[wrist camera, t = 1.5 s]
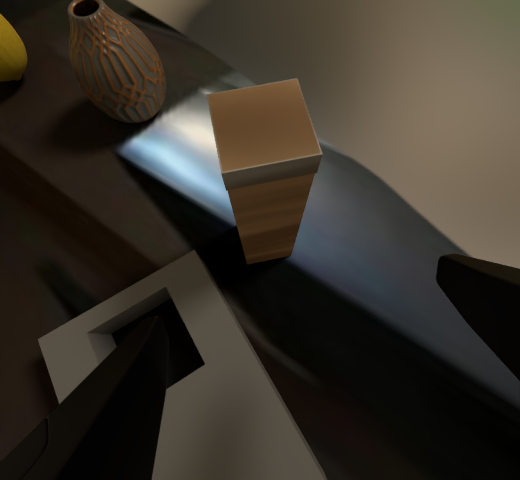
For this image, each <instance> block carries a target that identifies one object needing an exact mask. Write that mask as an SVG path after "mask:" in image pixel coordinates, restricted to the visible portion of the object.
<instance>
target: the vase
mask: <svg viewBox="0 0 520 480" xmlns="http://www.w3.org/2000/svg"><path fill="white" fill-rule="evenodd" d="M68 15H69V20H70V38H69V58H70V63H71V66H72V70H73V72H74V75H75V77H76V79H77V82H78V83H79V85H80V87H81V88H82V90H83V91H84V93H85V94H86V95H87V97H88V98H89V99H90V100H91V101H92V103H93V104H94V105H95V106H96V107H97V108H99V109H100V110H101V111H102V112H104V113H105V114H107V115H108V116H110V117H112V118H114V119H116V120H119V121H122V122H127V123H139V122H143V121H146V120H148V119H150V118H152V117H153V116H154V115H155V114H156V113H157V112H158V111H159V110H160V108H161V107H162V105H163V102H164V100H165V96H166V78H165V73H164V69H163V66H162V63H161V61H160V58H159V56H158V54H157V52H156V50H155V48H154V47H153V45H152V44H151V42H150V41H149V40H148V38H147V37H146V36H145V35H144V34H143V33H142V32H141V31H140V30H139V29H138V28H137V27H136V26H135V25H134V24H132V23H131V22H129V21H128V20H126V19H125V18H123V17H121V16H120V15H118V14H116V13H115V12H113V11H112V10H111V9H110V8H109V7H108V6H107V5H106V4H105V3H104V2H103V1H102V0H74V1H73V2H72V3H71V4H70V5H69V7H68Z"/></svg>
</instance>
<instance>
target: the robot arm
mask: <svg viewBox="0 0 520 480" xmlns="http://www.w3.org/2000/svg"><path fill="white" fill-rule="evenodd" d="M436 280H437V283H438V285H439V286H440V288H441V289H442V290H443V292H444V293H445V294H446V296H447V297H448V298H449V300H450V301H451V302H452V304H453V305H454V306H455V308H456V309H457V310H458V312H459V313H460V314H461V316H462V317H463V318H464V319H465V321H466V322H467V323H468V324H469V326H470V327H471V328H472V329H473V330H474V331H475V332H476V333H477V335H478V336H479V337H480V338H481V339H482V340H483V341H484V342H485V343H486V344H487V345H488V347H489V348H490V349H491V350H492V351H493V352H494V353H495V354H496V355H497V356H498V358H499V359H500V360H501V361H502V362H503V363H504V364H505V365H506V366H507V367H508V369H509V370H510V371H511V372H512V373H513V374H514V375H515V376H516V377H517V378H518V379H519V381H520V269H518V268H514V267H510V266H506V265H502V264H497V263H493V262H489V261H485V260H480V259H476V258H472V257H468V256H464V255H459V254H455V253H452V254H447V255H443V256H441V257H440V258H439V260H438V267H437V274H436ZM168 351H169V338H168V335H167V332H166V330H165V327H164V325H163V322H162V320H161V318H160V317H159V316H154V317H149V318H145V319H144V320H143V321H142V322H141V323H140V324H139V325H138V326H137V327H136V328H135V329H134V330H133V331H132V332H131V333H130V334H129V335H128V336H127V337H126V338H125V339H124V340H123V341H122V342H121V343H120V344H119V345H118V346H117V347H116V348H115V349H114V350H113V351H112V352H111V353H110V354H109V355H108V356H107V357H106V358H105V359H104V360H103V361H102V362H101V363H100V364H99V365H98V366H97V367H96V368H95V369H94V370H93V371H92V372H91V373H90V374H89V375H88V376H87V377H86V378H85V379H84V380H83V381H82V382H81V383H80V384H79V385H78V386H77V387H76V388H75V389H74V390H73V391H72V392H71V393H70V394H69V395H68V396H67V397H66V398H65V399H64V400H63V401H62V402H61V403H60V404H59V405H58V406H57V407H56V408H55V409H54V410H53V411H52V412H51V413H50V414H49V415H48V416H47V419H44V420H43V421H42V422H41V423H40V424H39V425H38V426H37V427H36V428H35V429H34V430H33V431H32V432H31V433H30V434H29V435H28V436H27V437H26V438H25V439H24V440H23V441H22V442H21V443H20V444H19V445H18V446H17V447H15V448H14V449H13V450H12V451H11V452H10V453H9V454H8V455H7V456H6V457H5V458H4V459H3V460H2V461H1V462H0V480H152V475H153V469H154V463H155V457H156V451H157V445H158V439H159V433H160V427H161V421H162V415H163V409H164V403H165V396H166V387H167V370H168Z"/></svg>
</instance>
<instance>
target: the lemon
mask: <svg viewBox="0 0 520 480" xmlns="http://www.w3.org/2000/svg"><path fill="white" fill-rule="evenodd" d="M26 65H27V54H26V50H25V47H24V45H23V43H22V41H21V39H20V37H19V36H18V34H17V33H16V31H15V30H14V29H13V27H12V26H11V25H10V24H9V23H8V21H7V20H6V19H5V18H4V17H3V16H2V15H1V14H0V81H10V80H20V79H21V77H22V73H23V72H24V71H25V68H26Z"/></svg>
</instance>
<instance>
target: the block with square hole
mask: <svg viewBox="0 0 520 480" xmlns="http://www.w3.org/2000/svg"><path fill="white" fill-rule="evenodd" d="M171 298H172V300H173V302H174V304H175V306H176V308H177V309H178V311H179V313H180V315H181V317H182V319H183V321H184V323H185V325H186V327H187V329H188V331H189V333H190V335H191V337H192V339H193V341H194V343H195V345H196V347H197V349H198V351H199V353H200V355H201V357H202V359H203V361H204V363H205V365H203V366H202V367H200V368H199V369H197V370H196V371H194V372H193V373H191V374H190V375H188V376H186V377H185V378H183V379H182V380H180V381H179V382H177V383H176V384H174V385H173V386H171V387H169V388H168V389H166V396H165V403H164V409H163V415H162V421H161V427H160V433H159V439H158V445H157V451H156V457H155V463H154V469H153V475H152V480H327V478H326V476H325V473H324V472H323V470H322V468H321V466H320V465H319V463H318V461H317V459H316V458H315V456H314V454H313V452H312V451H311V449H310V447H309V445H308V444H307V442H306V440H305V438H304V437H303V435H302V433H301V431H300V430H299V428H298V426H297V424H296V422H295V421H294V419H293V417H292V415H291V414H290V412H289V410H288V408H287V407H286V405H285V403H284V401H283V400H282V398H281V396H280V394H279V393H278V391H277V389H276V387H275V386H274V384H273V382H272V380H271V379H270V377H269V375H268V373H267V372H266V370H265V368H264V366H263V365H262V363H261V361H260V359H259V358H258V356H257V354H256V352H255V351H254V349H253V347H252V345H251V344H250V342H249V340H248V338H247V336H246V335H245V333H244V331H243V329H242V328H241V326H240V324H239V322H238V321H237V319H236V317H235V315H234V314H233V312H232V310H231V308H230V307H229V305H228V303H227V301H226V300H225V298H224V296H223V294H222V293H221V291H220V289H219V287H218V286H217V284H216V282H215V280H214V279H213V277H212V275H211V273H210V272H209V270H208V268H207V266H206V265H205V263H204V261H203V260H202V259H201V257H200V256H199V255H198V254H197V252H196V251H195V250H193V251H191V252H189V253H188V254H186V255H184V256H182V257H181V258H179V259H177V260H176V261H174V262H172V263H170V264H169V265H167V266H165V267H163V268H162V269H160V270H158V271H156V272H155V273H153V274H151V275H149V276H148V277H146V278H144V279H142V280H141V281H139V282H137V283H135V284H134V285H132V286H130V287H128V288H127V289H125V290H123V291H121V292H120V293H118V294H116V295H114V296H113V297H111V298H109V299H108V300H106V301H104V302H102V303H101V304H99V305H97V306H95V307H94V308H92V309H90V310H88V311H87V312H85V313H83V314H81V315H80V316H78V317H76V318H74V319H73V320H71V321H69V322H67V323H66V324H64V325H62V326H60V327H59V328H57V329H55V330H53V331H52V332H50V333H48V334H46V335H45V336H43V337H41V338H40V339H38V341H39V344H40V347H41V350H42V353H43V356H44V359H45V362H46V365H47V368H48V371H49V374H50V377H51V380H52V383H53V386H54V389H55V392H56V395H57V398H58V401H59V404H60V403H61V402H62V401H63V400H64V399H65V398H66V397H67V396H68V395H69V394H70V393H71V392H72V391H73V390H74V389H75V388H76V387H77V386H78V385H79V384H80V383H81V382H82V381H83V380H84V379H85V378H86V377H87V376H88V375H89V374H90V373H91V372H92V371H93V370H94V369H95V368H96V367H97V366H98V365H99V364H100V363H101V362H102V361H103V360H104V359H105V358H106V357H107V356H108V355H109V354H110V353H111V352H112V351H113V350H114V349H115V348H116V347H117V346H116V344H115V341H114V339H113V337H112V333H113V332H115V331H117V330H118V329H120V328H122V327H124V326H125V325H127V324H129V323H130V322H132V321H134V320H135V319H137V318H139V317H140V316H142V315H144V314H145V313H147V312H149V311H150V310H152V309H154V308H155V307H157V306H159V305H161V304H162V303H164V302H166V301H167V300H169V299H171Z"/></svg>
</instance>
